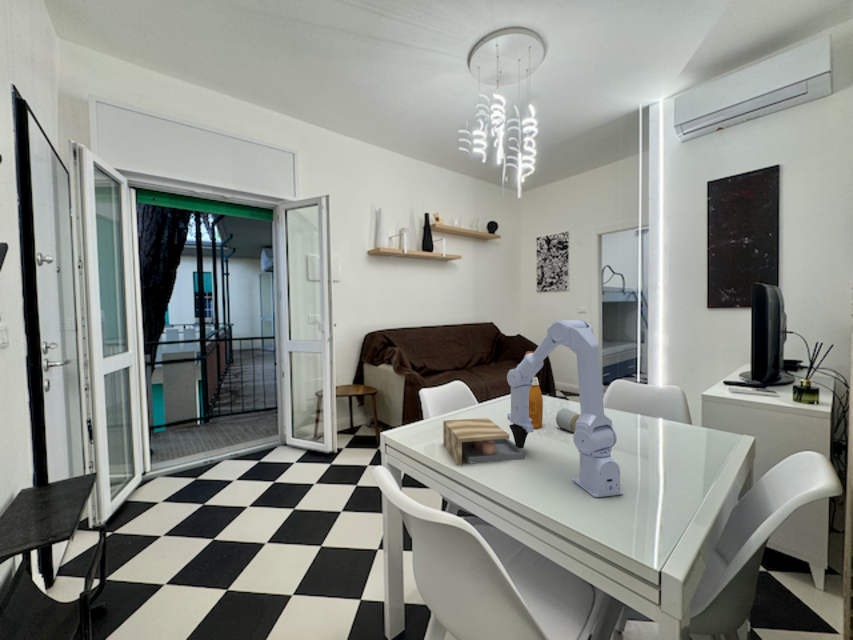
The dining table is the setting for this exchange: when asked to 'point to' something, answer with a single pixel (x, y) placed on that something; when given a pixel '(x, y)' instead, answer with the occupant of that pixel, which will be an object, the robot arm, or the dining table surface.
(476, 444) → the peg
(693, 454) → the dining table surface
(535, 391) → the wine bottle
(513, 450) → the tray
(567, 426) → the ceramic mug
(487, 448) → the pink round cylinder
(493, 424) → the wooden l-shaped bracket
